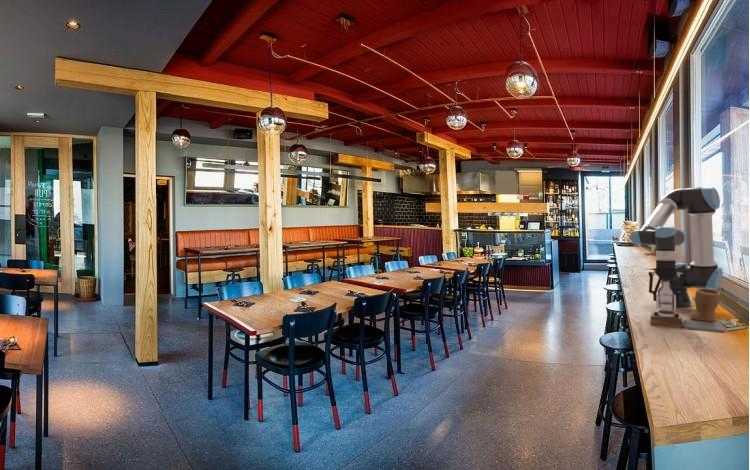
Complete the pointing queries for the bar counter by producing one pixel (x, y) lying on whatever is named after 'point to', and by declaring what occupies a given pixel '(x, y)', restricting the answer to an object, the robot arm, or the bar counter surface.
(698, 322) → the slate plate
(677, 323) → the walnut holder
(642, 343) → the bar counter surface
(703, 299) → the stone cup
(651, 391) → the bar counter surface
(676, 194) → the robot arm
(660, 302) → the plastic bottle
